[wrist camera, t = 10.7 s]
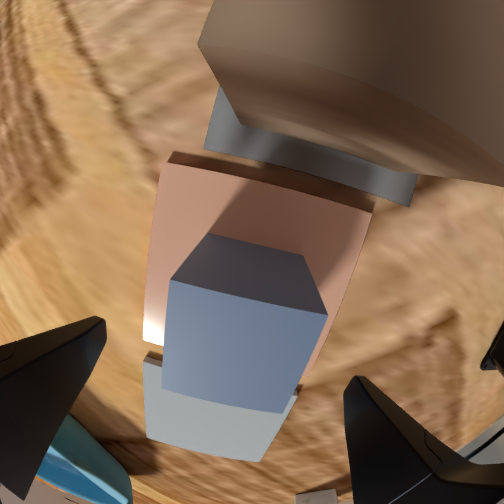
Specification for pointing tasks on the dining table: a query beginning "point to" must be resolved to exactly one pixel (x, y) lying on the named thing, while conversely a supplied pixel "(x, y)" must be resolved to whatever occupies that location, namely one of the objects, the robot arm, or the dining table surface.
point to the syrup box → (317, 497)
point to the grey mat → (206, 421)
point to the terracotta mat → (248, 234)
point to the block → (240, 324)
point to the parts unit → (361, 89)
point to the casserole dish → (84, 467)
